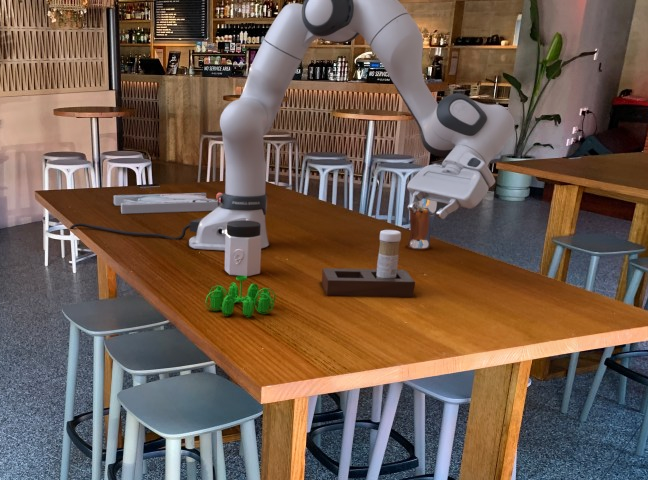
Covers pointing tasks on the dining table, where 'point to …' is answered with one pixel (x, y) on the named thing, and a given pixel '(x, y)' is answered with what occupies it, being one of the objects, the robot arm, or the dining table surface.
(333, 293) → the holder
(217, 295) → the chandelier
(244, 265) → the jar
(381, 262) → the sprinkles bottle
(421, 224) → the beer glass
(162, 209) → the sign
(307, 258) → the dining table surface
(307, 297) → the dining table surface
